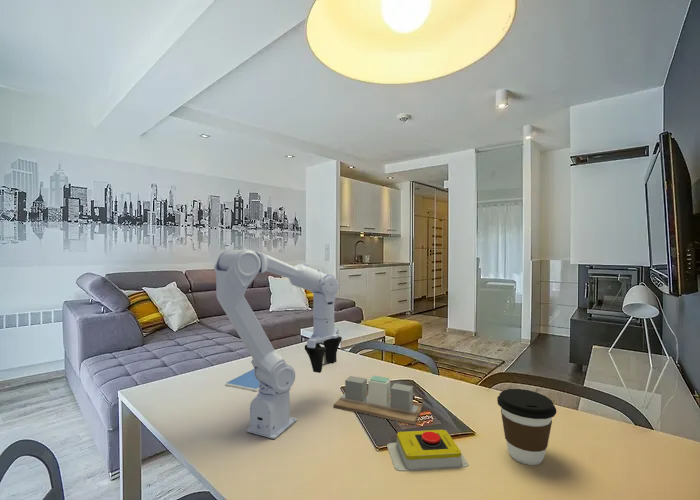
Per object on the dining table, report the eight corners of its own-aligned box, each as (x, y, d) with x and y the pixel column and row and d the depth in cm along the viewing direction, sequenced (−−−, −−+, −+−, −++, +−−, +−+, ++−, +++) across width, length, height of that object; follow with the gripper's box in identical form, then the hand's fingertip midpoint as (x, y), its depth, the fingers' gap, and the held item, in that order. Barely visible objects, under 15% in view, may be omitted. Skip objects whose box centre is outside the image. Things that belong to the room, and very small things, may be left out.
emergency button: (470, 447, 68) (395, 451, 66) (470, 469, 68) (395, 474, 66) (452, 423, 77) (386, 426, 76) (451, 442, 77) (386, 446, 76)
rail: (415, 415, 87) (415, 412, 87) (340, 399, 95) (340, 397, 95) (418, 409, 90) (418, 406, 90) (345, 394, 99) (345, 392, 99)
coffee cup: (565, 476, 65) (566, 413, 65) (504, 469, 67) (504, 408, 67) (543, 443, 76) (544, 389, 76) (491, 438, 78) (491, 385, 77)
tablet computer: (261, 367, 125) (261, 363, 125) (291, 372, 120) (291, 368, 120) (223, 387, 107) (223, 383, 107) (257, 393, 103) (257, 389, 103)
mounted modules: (409, 411, 87) (409, 391, 87) (345, 398, 95) (345, 380, 95) (412, 405, 91) (412, 386, 91) (350, 393, 98) (350, 375, 98)
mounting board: (414, 424, 84) (414, 421, 84) (333, 407, 93) (333, 404, 93) (422, 407, 93) (422, 404, 93) (348, 393, 102) (348, 390, 102)
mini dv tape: (318, 367, 124) (318, 350, 124) (316, 365, 125) (316, 349, 125) (336, 362, 130) (336, 346, 129) (333, 361, 131) (333, 345, 131)
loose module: (386, 406, 90) (386, 382, 90) (368, 403, 92) (368, 379, 92) (390, 400, 93) (390, 377, 93) (373, 397, 95) (373, 375, 95)
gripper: (324, 324, 85) (324, 378, 86) (348, 313, 99) (348, 360, 99) (300, 322, 88) (300, 374, 89) (326, 312, 102) (326, 357, 102)
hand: (324, 367), depth 94 cm, fingers open, 7 cm apart
